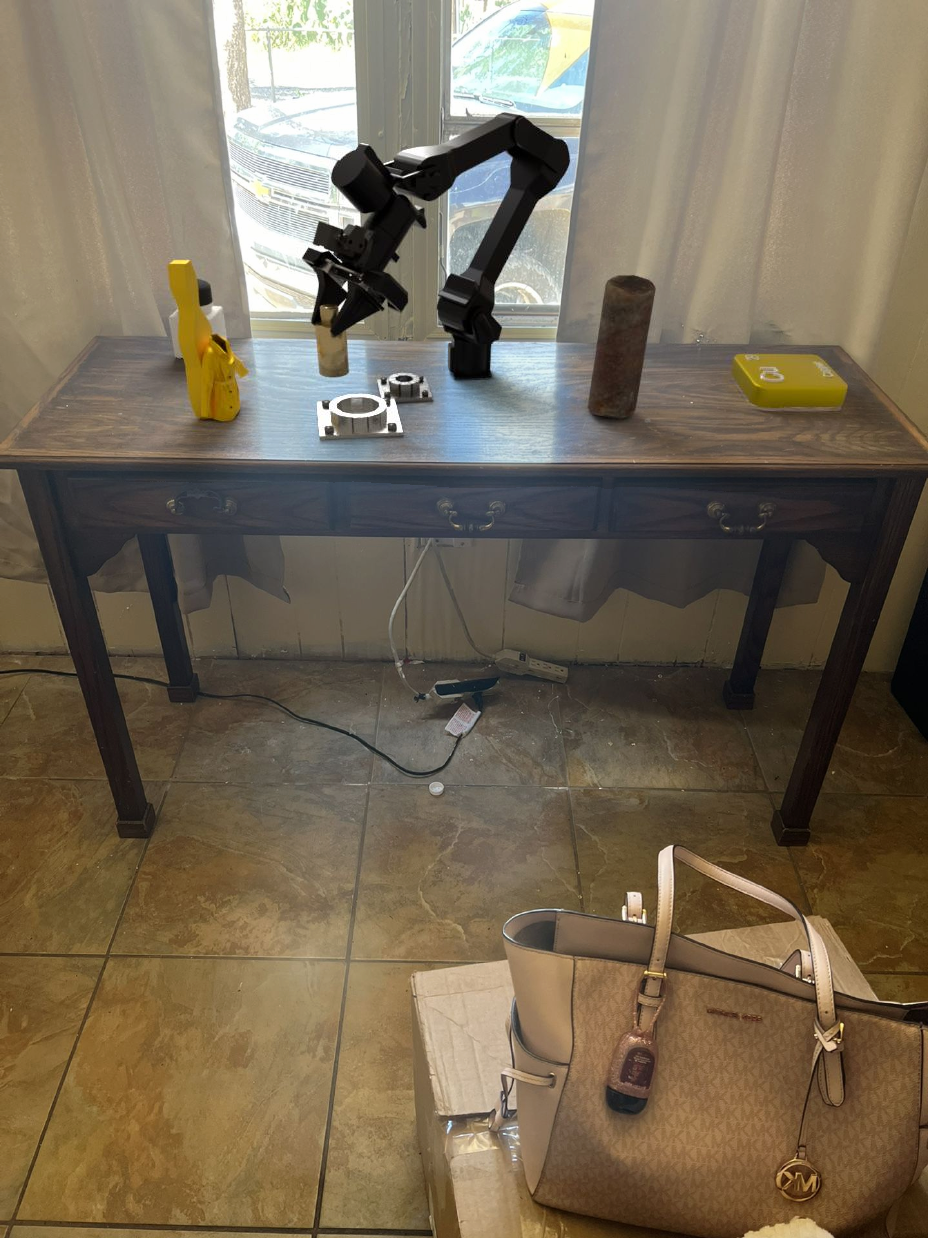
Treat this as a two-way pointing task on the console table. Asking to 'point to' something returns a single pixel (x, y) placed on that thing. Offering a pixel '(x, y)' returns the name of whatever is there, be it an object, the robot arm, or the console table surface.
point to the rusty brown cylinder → (621, 346)
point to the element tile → (788, 380)
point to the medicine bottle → (210, 311)
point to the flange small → (404, 388)
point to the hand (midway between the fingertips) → (322, 329)
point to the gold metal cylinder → (331, 344)
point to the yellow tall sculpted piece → (204, 351)
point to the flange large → (358, 417)
